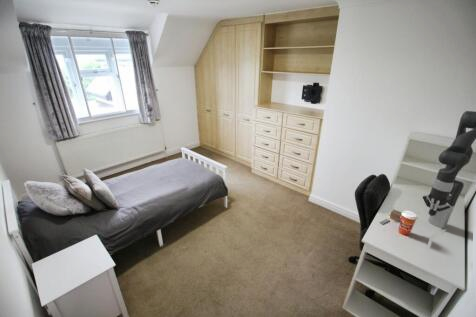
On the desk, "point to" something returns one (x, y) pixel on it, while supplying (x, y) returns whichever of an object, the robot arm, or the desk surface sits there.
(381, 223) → the slate strip
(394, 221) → the cork coaster
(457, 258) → the desk surface
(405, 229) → the paper cup
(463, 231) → the desk surface
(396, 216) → the walnut block
